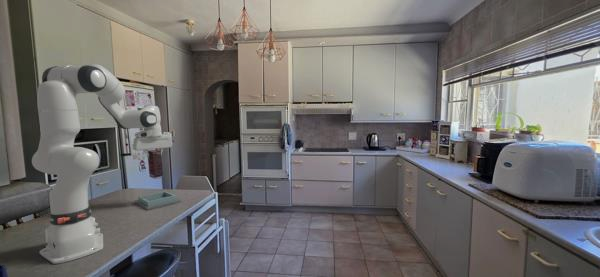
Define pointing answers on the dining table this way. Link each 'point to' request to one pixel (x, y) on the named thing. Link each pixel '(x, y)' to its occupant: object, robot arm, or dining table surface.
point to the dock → (157, 200)
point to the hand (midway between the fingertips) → (154, 156)
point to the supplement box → (155, 164)
